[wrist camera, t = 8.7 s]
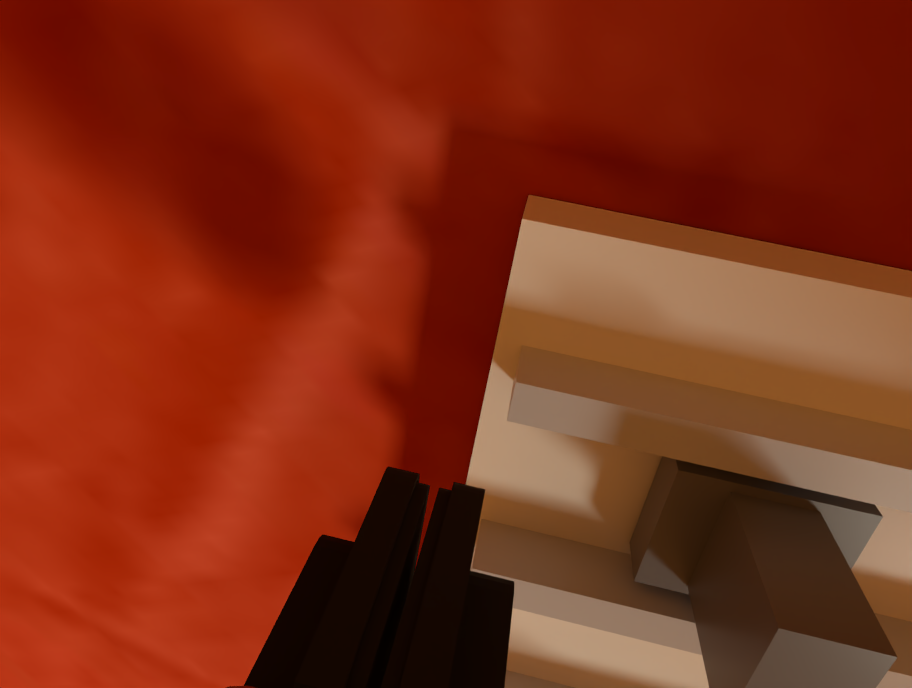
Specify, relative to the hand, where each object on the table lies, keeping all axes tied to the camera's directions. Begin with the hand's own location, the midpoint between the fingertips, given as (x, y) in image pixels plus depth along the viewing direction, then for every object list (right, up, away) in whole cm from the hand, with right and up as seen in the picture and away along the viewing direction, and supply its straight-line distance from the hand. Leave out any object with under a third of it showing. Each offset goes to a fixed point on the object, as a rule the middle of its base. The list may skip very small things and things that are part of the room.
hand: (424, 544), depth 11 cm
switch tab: (+6, 0, +2) cm, 7 cm away
